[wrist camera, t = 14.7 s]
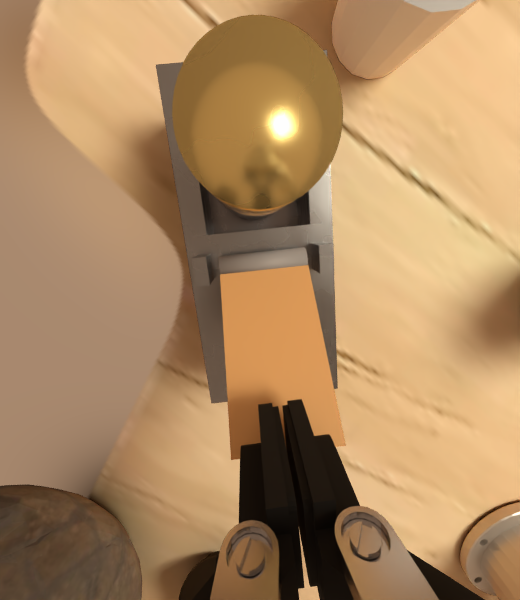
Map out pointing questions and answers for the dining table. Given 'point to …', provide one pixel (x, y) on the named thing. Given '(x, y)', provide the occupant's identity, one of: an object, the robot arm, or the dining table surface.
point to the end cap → (199, 576)
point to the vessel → (63, 548)
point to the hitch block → (246, 246)
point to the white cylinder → (388, 31)
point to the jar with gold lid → (257, 114)
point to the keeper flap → (274, 344)
